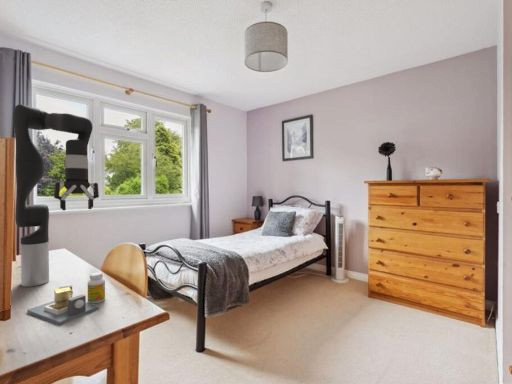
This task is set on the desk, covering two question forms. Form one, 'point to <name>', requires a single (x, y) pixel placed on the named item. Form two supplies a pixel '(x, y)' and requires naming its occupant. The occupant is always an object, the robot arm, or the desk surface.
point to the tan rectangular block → (62, 297)
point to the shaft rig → (64, 309)
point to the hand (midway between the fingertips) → (77, 209)
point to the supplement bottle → (96, 288)
